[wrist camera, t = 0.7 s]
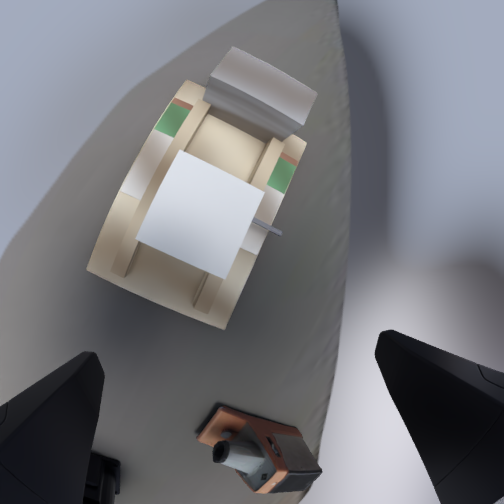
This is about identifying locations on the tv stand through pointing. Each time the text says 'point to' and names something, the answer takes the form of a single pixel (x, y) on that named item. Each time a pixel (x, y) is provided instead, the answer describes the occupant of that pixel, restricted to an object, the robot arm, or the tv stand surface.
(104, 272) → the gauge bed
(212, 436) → the electronic device
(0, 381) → the tv stand surface
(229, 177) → the white rectangular block
